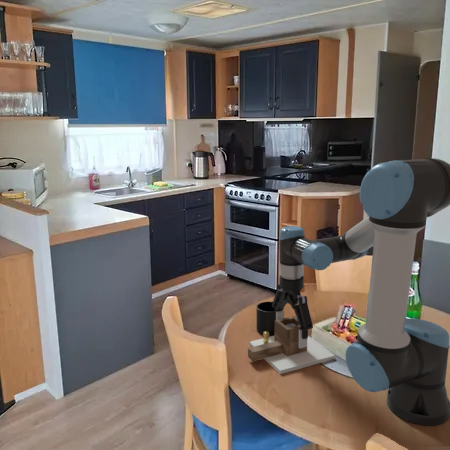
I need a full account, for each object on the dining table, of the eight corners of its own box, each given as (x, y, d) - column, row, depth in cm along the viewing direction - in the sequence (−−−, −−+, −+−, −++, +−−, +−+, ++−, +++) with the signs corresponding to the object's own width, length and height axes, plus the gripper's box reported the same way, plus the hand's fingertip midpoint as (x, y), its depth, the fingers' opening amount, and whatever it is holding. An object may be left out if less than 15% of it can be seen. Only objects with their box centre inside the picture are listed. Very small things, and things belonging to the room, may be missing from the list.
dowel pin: (269, 343, 148) (269, 332, 147) (265, 345, 147) (265, 334, 146) (267, 341, 150) (267, 330, 149) (262, 342, 149) (262, 331, 148)
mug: (275, 320, 169) (275, 297, 166) (286, 334, 157) (286, 310, 155) (251, 322, 167) (251, 300, 165) (260, 337, 155) (260, 313, 153)
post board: (334, 358, 140) (335, 331, 138) (280, 374, 132) (280, 346, 130) (299, 332, 158) (299, 308, 156) (249, 345, 150) (249, 319, 148)
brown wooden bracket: (293, 340, 150) (294, 316, 148) (307, 350, 143) (307, 325, 141) (244, 353, 142) (244, 327, 140) (256, 364, 135) (255, 337, 133)
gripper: (325, 286, 129) (324, 352, 134) (281, 263, 152) (280, 320, 156) (304, 290, 127) (303, 358, 131) (261, 266, 149) (262, 325, 153)
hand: (291, 338), depth 144 cm, fingers open, 13 cm apart
